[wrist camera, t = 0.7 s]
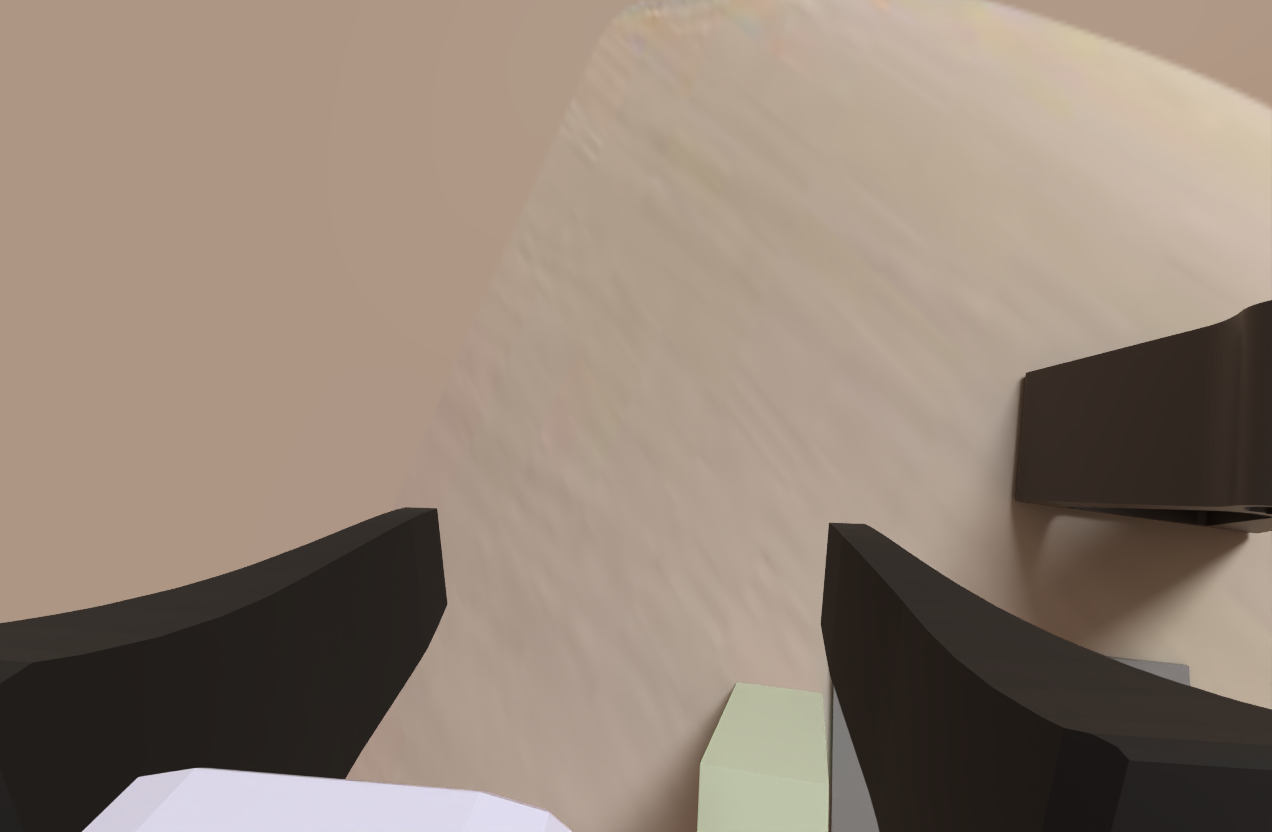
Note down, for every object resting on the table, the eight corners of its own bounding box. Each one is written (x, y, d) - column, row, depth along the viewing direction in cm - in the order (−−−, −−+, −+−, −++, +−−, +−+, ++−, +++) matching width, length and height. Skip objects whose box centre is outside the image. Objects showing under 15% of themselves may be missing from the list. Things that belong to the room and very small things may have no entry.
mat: (1200, 929, 25) (1205, 933, 25) (830, 856, 29) (831, 860, 29) (1184, 664, 27) (1188, 666, 26) (834, 628, 30) (834, 629, 30)
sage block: (820, 783, 30) (826, 928, 19) (733, 769, 31) (694, 898, 20) (822, 693, 30) (828, 784, 20) (736, 681, 31) (700, 763, 21)
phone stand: (1011, 500, 29) (1141, 487, 18) (1023, 373, 30) (1154, 283, 19) (1251, 534, 27) (1577, 544, 15) (1257, 394, 28) (1574, 305, 16)
